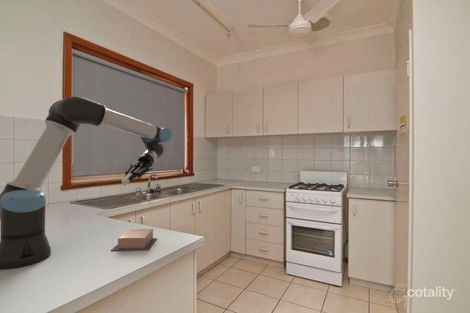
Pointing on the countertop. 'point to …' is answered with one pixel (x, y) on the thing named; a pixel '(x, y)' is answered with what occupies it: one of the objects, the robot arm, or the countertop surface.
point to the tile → (135, 238)
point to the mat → (136, 248)
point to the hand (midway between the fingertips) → (123, 183)
